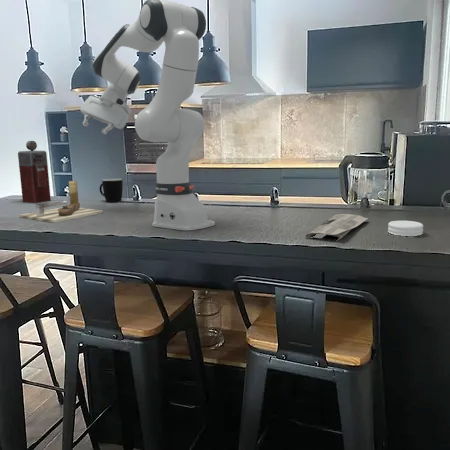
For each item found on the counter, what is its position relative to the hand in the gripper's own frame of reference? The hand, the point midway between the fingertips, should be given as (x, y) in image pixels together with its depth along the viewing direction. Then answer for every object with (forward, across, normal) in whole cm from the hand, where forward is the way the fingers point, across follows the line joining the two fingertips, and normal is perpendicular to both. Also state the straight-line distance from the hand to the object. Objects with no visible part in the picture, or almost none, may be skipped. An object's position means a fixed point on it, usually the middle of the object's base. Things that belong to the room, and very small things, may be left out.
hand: (93, 129), depth 187 cm
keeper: (+36, +4, +3) cm, 37 cm away
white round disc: (-4, +121, -6) cm, 122 cm away
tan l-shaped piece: (+32, +5, +8) cm, 34 cm away
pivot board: (+35, +3, +8) cm, 36 cm away
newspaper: (+2, +103, -3) cm, 103 cm away
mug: (+16, 0, +39) cm, 42 cm away
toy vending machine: (+32, -32, +35) cm, 57 cm away
